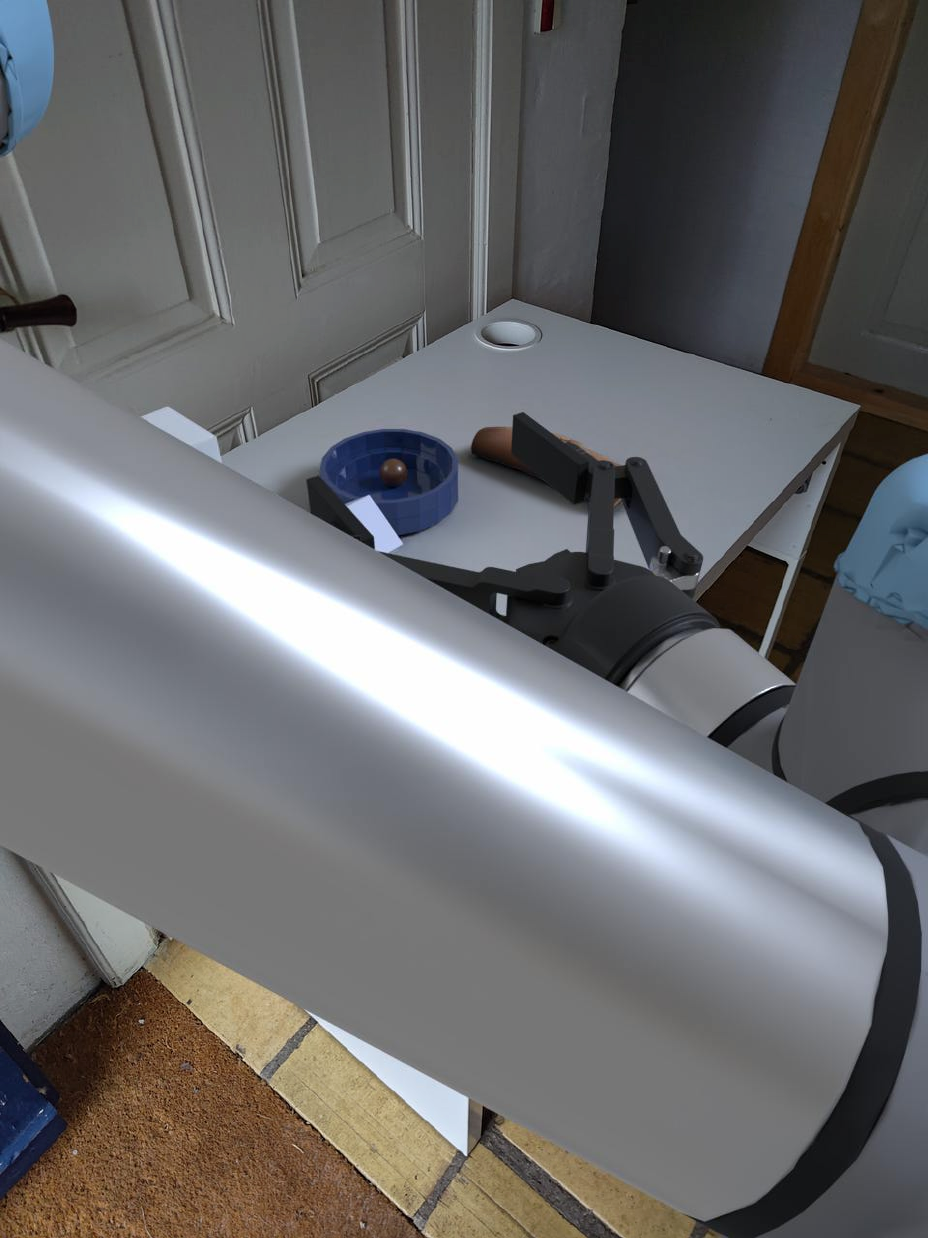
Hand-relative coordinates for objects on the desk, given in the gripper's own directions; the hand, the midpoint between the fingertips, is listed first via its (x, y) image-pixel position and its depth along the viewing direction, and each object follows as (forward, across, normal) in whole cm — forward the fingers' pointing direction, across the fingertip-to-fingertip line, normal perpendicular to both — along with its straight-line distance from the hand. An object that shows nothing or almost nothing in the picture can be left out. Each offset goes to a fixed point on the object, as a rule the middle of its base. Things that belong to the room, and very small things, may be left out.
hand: (421, 463), depth 51 cm
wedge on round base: (+22, +1, -26) cm, 34 cm away
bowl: (+31, +13, -25) cm, 42 cm away
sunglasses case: (+26, +32, -26) cm, 48 cm away
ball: (+32, +14, -23) cm, 42 cm away
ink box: (+36, -6, -26) cm, 45 cm away
